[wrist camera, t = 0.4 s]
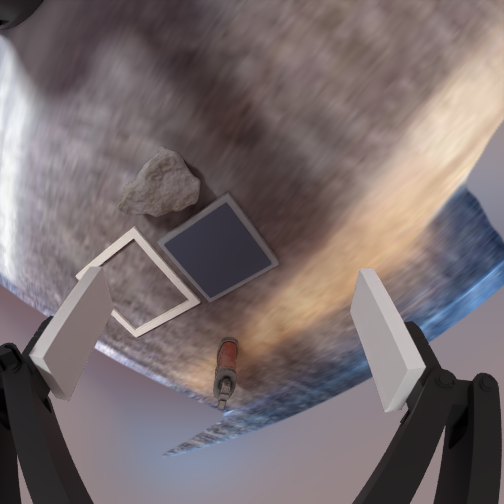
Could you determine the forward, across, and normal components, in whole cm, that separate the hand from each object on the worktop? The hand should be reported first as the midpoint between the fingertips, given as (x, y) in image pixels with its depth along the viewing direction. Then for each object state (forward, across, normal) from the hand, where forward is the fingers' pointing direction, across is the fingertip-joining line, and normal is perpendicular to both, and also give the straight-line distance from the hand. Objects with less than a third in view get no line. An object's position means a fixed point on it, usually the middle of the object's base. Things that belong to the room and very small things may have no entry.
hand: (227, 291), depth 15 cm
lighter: (+25, -3, -32) cm, 40 cm away
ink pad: (+25, -3, -11) cm, 28 cm away
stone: (+26, -10, -1) cm, 28 cm away
